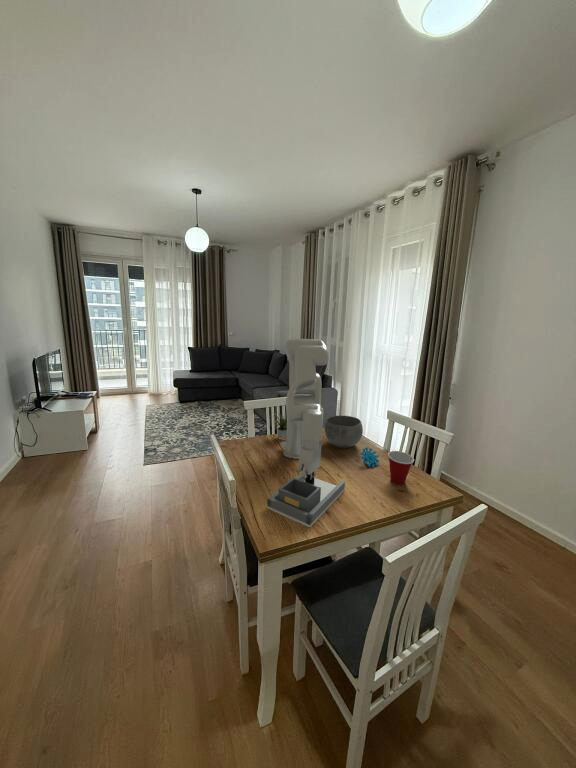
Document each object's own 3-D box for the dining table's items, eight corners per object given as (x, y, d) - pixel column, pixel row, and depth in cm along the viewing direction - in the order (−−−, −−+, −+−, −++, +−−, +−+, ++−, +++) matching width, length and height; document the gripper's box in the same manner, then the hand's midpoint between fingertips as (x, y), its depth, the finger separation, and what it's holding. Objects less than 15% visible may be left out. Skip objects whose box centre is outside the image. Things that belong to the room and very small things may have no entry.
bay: (267, 508, 112) (267, 498, 111) (306, 477, 135) (307, 468, 134) (309, 527, 102) (310, 517, 101) (344, 490, 125) (345, 481, 124)
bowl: (342, 435, 184) (344, 412, 181) (369, 447, 167) (371, 421, 164) (316, 442, 172) (317, 417, 169) (341, 456, 156) (343, 428, 153)
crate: (277, 505, 112) (277, 489, 111) (293, 493, 120) (293, 477, 119) (305, 518, 106) (306, 500, 104) (320, 503, 114) (320, 487, 113)
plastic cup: (405, 491, 126) (408, 464, 123) (380, 481, 133) (383, 455, 131) (415, 481, 133) (418, 456, 131) (392, 472, 141) (394, 448, 138)
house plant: (264, 440, 174) (264, 413, 170) (274, 432, 186) (274, 406, 183) (287, 445, 169) (288, 416, 165) (296, 436, 181) (297, 410, 178)
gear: (366, 467, 142) (359, 446, 147) (359, 471, 146) (352, 451, 152) (384, 465, 147) (377, 446, 152) (376, 470, 151) (369, 451, 157)
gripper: (312, 433, 122) (310, 475, 126) (292, 446, 110) (290, 492, 114) (329, 438, 118) (326, 480, 122) (310, 452, 106) (308, 499, 110)
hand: (309, 486), depth 118 cm, fingers closed
